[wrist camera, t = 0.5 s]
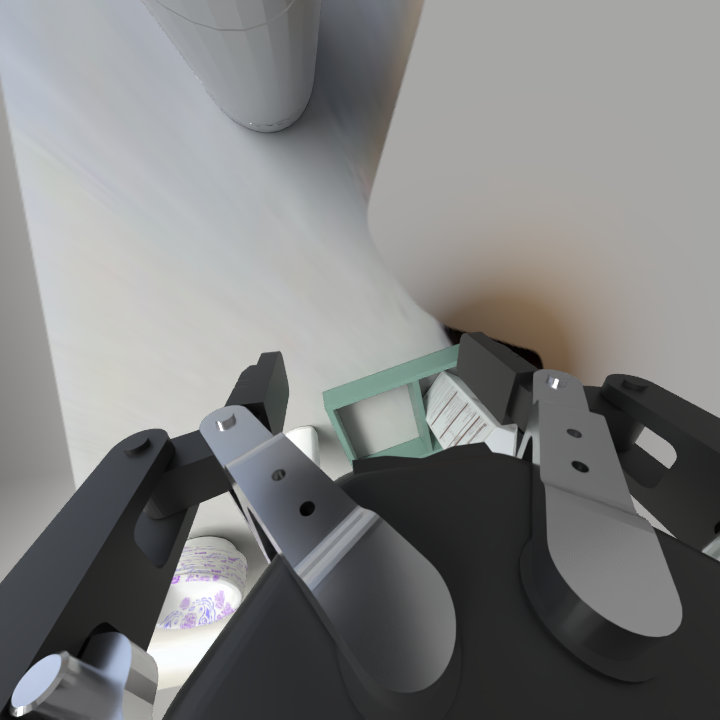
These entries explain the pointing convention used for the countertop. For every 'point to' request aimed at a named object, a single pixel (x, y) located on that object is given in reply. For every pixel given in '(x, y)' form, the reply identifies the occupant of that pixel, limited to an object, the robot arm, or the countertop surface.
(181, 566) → the paper bowls
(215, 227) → the countertop surface
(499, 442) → the supplement box
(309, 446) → the eye dropper bottle
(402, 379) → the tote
